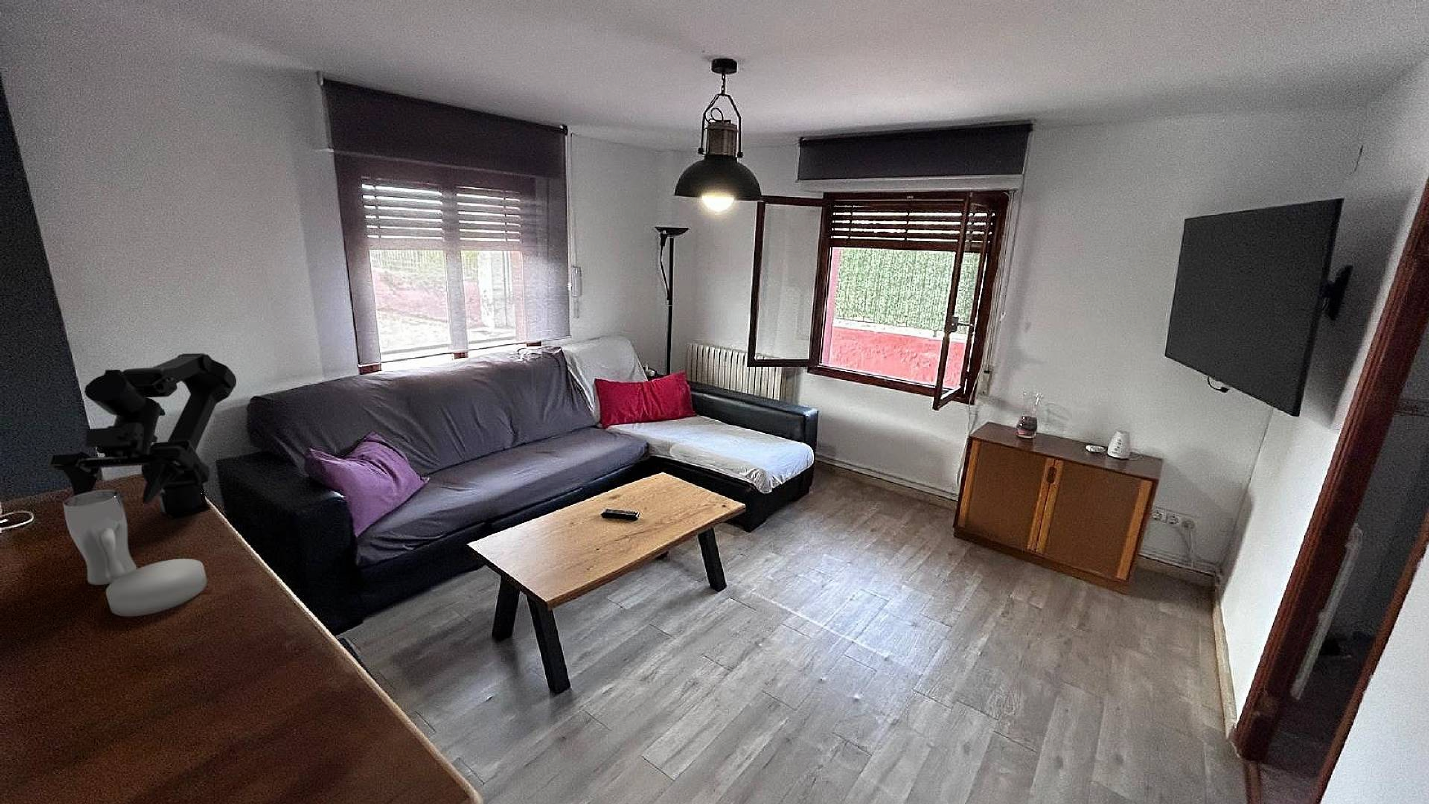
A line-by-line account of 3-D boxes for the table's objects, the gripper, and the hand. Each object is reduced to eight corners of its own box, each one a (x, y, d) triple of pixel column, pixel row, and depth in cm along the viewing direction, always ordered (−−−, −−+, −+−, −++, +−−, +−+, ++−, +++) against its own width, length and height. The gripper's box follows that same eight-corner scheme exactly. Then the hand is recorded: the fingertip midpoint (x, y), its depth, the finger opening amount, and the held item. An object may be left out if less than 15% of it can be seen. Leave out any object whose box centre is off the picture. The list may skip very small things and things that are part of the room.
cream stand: (192, 566, 107) (189, 551, 106) (218, 589, 101) (214, 574, 100) (100, 597, 98) (96, 582, 97) (123, 626, 91) (118, 609, 90)
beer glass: (151, 566, 107) (131, 490, 102) (109, 588, 100) (86, 508, 96) (116, 562, 107) (95, 487, 103) (72, 584, 101) (48, 505, 96)
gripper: (40, 409, 102) (8, 495, 95) (173, 404, 107) (152, 484, 100) (82, 437, 111) (56, 516, 104) (202, 431, 117) (186, 506, 110)
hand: (112, 505), depth 104 cm, fingers open, 9 cm apart
